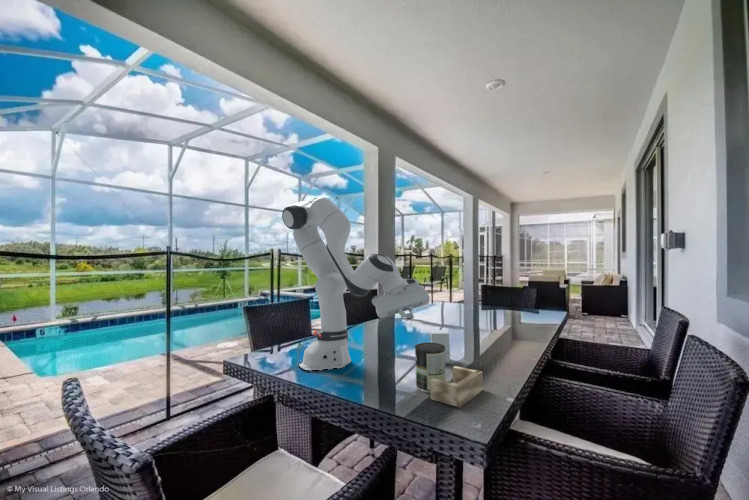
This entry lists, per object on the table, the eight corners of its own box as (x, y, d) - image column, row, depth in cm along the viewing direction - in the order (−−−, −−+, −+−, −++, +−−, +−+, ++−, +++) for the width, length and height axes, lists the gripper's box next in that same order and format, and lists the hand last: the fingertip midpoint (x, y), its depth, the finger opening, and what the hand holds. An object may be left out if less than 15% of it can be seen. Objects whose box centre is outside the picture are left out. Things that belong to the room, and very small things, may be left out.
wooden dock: (430, 399, 109) (430, 380, 109) (455, 383, 122) (455, 366, 122) (459, 407, 102) (459, 387, 102) (483, 389, 115) (482, 371, 115)
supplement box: (448, 358, 151) (447, 329, 151) (450, 363, 143) (449, 333, 144) (431, 358, 151) (430, 329, 152) (432, 363, 144) (431, 333, 144)
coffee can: (412, 391, 116) (411, 348, 116) (420, 380, 125) (419, 341, 125) (442, 395, 112) (441, 351, 112) (448, 383, 121) (447, 343, 121)
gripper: (369, 292, 127) (381, 321, 117) (420, 277, 131) (436, 305, 121) (370, 302, 131) (382, 332, 121) (420, 288, 135) (435, 315, 125)
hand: (409, 318), depth 121 cm, fingers closed
